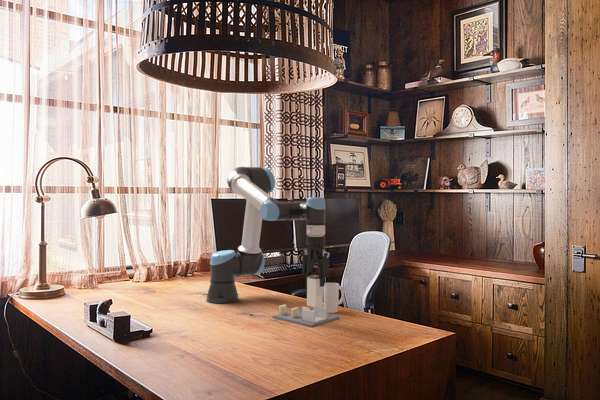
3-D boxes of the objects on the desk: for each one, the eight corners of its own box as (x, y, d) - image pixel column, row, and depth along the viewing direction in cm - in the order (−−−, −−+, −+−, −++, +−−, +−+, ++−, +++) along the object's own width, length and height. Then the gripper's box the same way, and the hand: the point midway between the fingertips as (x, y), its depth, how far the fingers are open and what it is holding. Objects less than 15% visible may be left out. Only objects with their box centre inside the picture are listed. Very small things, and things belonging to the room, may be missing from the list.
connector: (306, 305, 198) (307, 275, 198) (314, 303, 201) (314, 274, 201) (315, 307, 195) (315, 276, 195) (322, 305, 198) (323, 275, 198)
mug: (327, 313, 212) (328, 285, 212) (320, 310, 218) (320, 283, 218) (347, 311, 216) (348, 284, 216) (340, 308, 222) (340, 281, 222)
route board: (272, 317, 204) (272, 304, 204) (301, 310, 218) (301, 298, 218) (311, 327, 191) (311, 313, 190) (339, 318, 204) (339, 305, 204)
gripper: (293, 234, 201) (292, 292, 201) (327, 237, 189) (326, 298, 190) (305, 233, 207) (304, 289, 207) (338, 236, 195) (338, 295, 195)
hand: (315, 293), depth 198 cm, fingers closed on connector, 4 cm apart
